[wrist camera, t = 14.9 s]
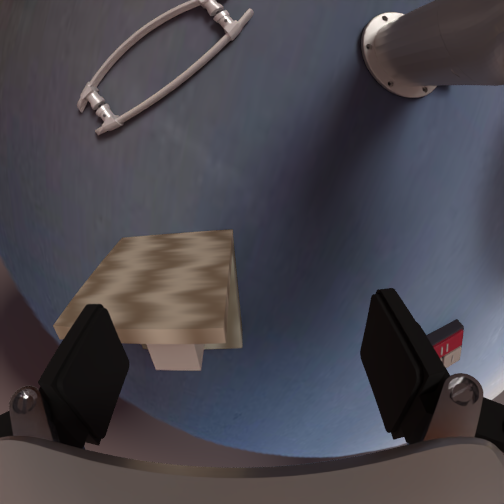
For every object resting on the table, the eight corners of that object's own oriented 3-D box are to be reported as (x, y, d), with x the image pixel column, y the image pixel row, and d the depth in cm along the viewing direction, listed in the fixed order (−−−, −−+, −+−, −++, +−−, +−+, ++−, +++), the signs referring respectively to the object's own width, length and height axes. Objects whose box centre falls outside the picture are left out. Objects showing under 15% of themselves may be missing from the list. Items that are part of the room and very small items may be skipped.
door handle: (265, 31, 29) (110, 147, 35) (220, -19, 26) (72, 97, 31) (267, 25, 27) (101, 150, 33) (219, -27, 23) (62, 97, 29)
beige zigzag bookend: (232, 229, 40) (223, 327, 22) (242, 331, 48) (242, 438, 30) (122, 237, 40) (53, 325, 22) (148, 333, 48) (116, 430, 30)
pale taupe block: (193, 256, 37) (182, 291, 30) (207, 336, 43) (202, 376, 36) (149, 259, 38) (129, 293, 30) (169, 336, 43) (158, 375, 36)
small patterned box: (461, 360, 51) (405, 392, 53) (452, 348, 55) (398, 378, 56) (466, 327, 46) (404, 363, 48) (455, 315, 50) (395, 348, 52)
